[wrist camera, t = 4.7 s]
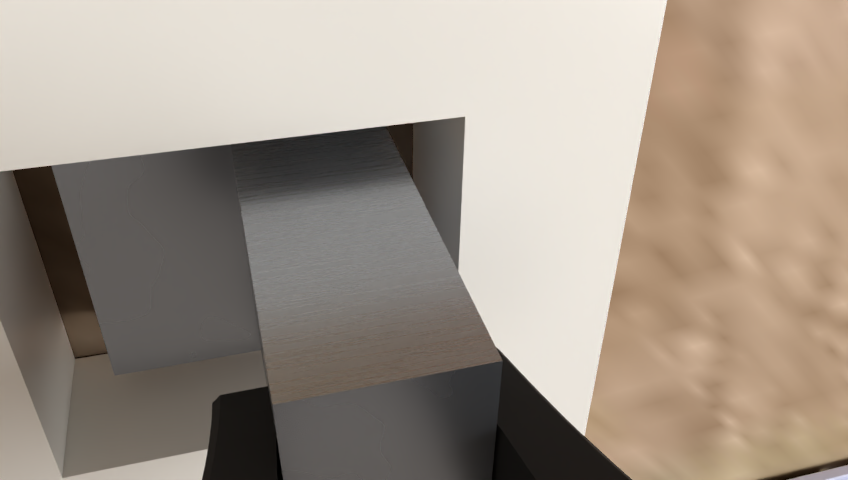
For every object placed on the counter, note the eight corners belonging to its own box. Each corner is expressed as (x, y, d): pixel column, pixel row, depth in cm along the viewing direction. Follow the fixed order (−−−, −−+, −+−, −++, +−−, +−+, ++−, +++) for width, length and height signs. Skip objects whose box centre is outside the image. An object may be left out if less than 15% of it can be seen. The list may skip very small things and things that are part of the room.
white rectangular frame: (588, -119, 13) (680, -72, 11) (530, 360, 20) (581, 454, 17) (-326, -72, 11) (-462, 5, 8) (-48, 471, 17) (-79, 601, 15)
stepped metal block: (358, 72, 14) (502, 361, 8) (366, 272, 17) (480, 598, 11) (59, 103, 13) (-15, 459, 7) (117, 312, 16) (97, 697, 10)
